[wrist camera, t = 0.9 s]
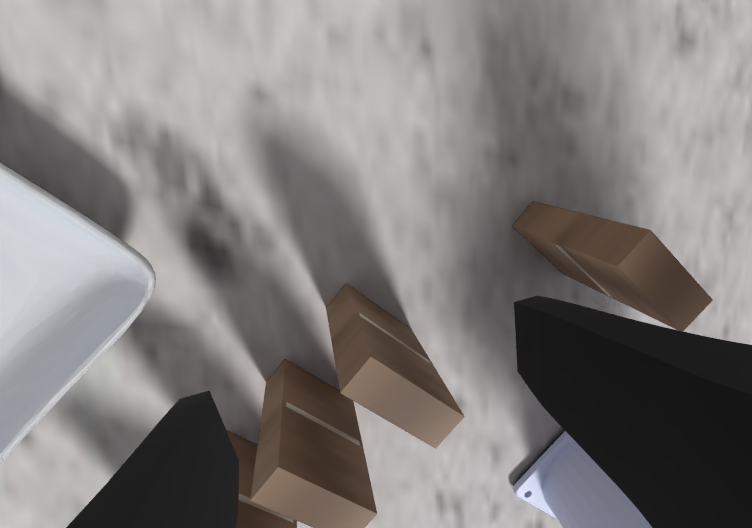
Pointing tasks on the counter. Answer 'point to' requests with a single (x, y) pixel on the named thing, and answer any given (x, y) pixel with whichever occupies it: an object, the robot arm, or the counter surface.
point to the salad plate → (56, 300)
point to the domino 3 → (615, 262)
